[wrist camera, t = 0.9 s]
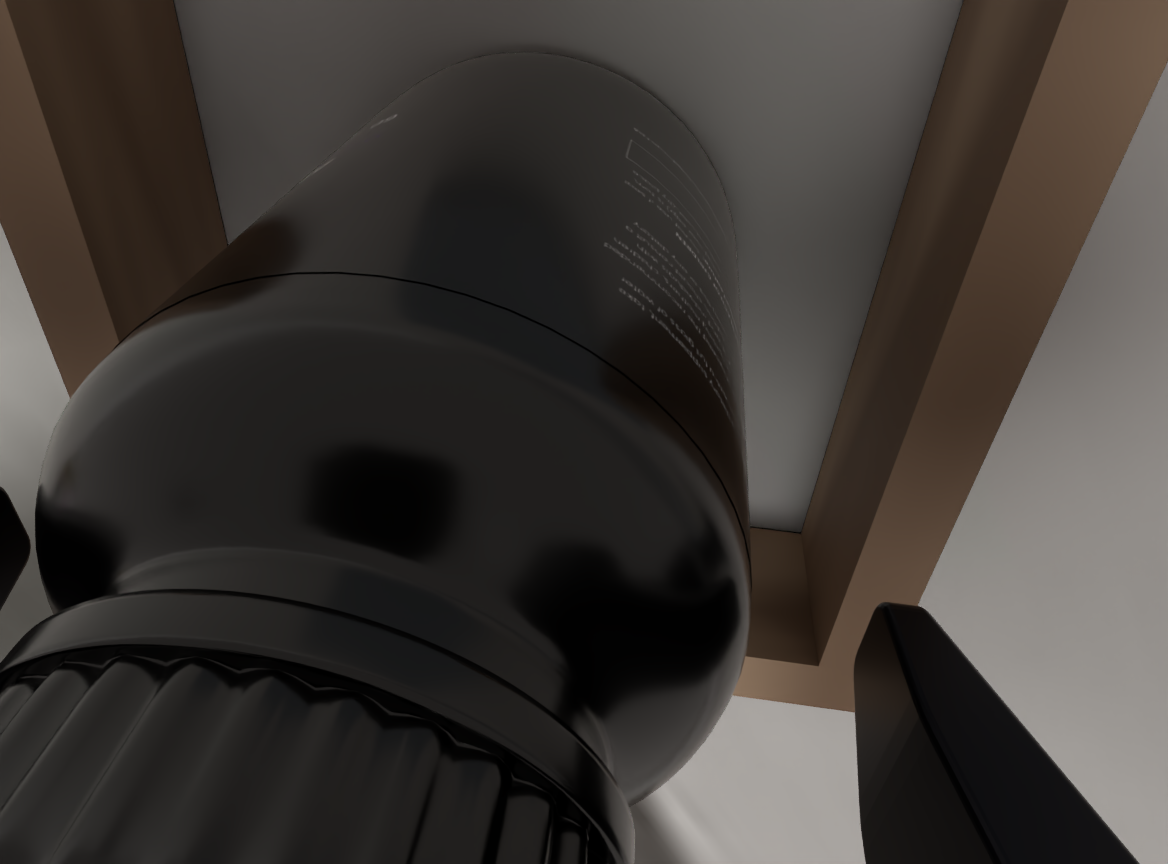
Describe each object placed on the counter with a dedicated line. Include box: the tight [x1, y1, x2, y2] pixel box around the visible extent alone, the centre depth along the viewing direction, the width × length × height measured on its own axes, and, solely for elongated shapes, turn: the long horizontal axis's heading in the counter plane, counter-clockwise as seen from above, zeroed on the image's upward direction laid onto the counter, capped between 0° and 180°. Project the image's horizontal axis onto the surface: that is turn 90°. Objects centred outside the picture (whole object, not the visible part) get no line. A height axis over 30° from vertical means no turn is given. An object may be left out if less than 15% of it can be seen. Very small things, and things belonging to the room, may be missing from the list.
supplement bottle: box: [0, 52, 752, 864], centre depth 10 cm, size 7×7×12 cm
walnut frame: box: [0, 0, 1168, 712], centre depth 13 cm, size 14×13×4 cm
